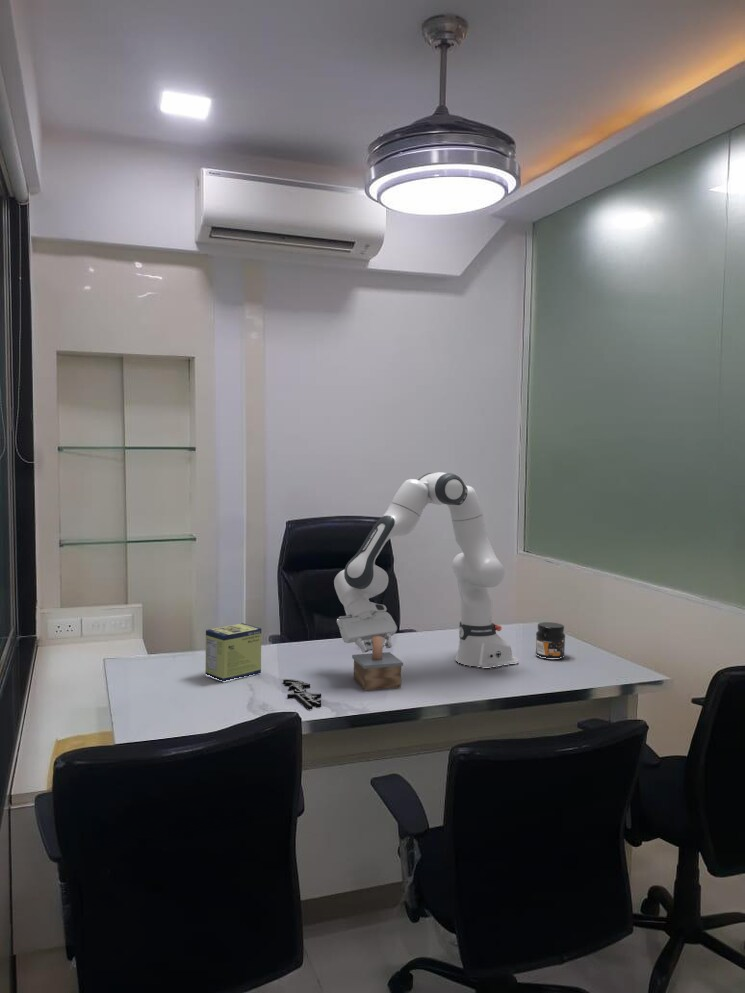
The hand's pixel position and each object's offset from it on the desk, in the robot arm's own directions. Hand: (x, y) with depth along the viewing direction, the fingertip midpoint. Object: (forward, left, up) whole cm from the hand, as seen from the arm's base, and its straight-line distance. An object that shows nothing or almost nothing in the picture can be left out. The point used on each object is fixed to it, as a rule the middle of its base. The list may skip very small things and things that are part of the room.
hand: (378, 649), depth 243 cm
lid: (0, 0, -6) cm, 6 cm away
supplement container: (-72, -13, -11) cm, 74 cm away
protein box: (+43, -21, -11) cm, 49 cm away
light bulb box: (-14, -44, -11) cm, 48 cm away
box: (0, 0, -11) cm, 11 cm away
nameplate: (+26, +5, -12) cm, 29 cm away
